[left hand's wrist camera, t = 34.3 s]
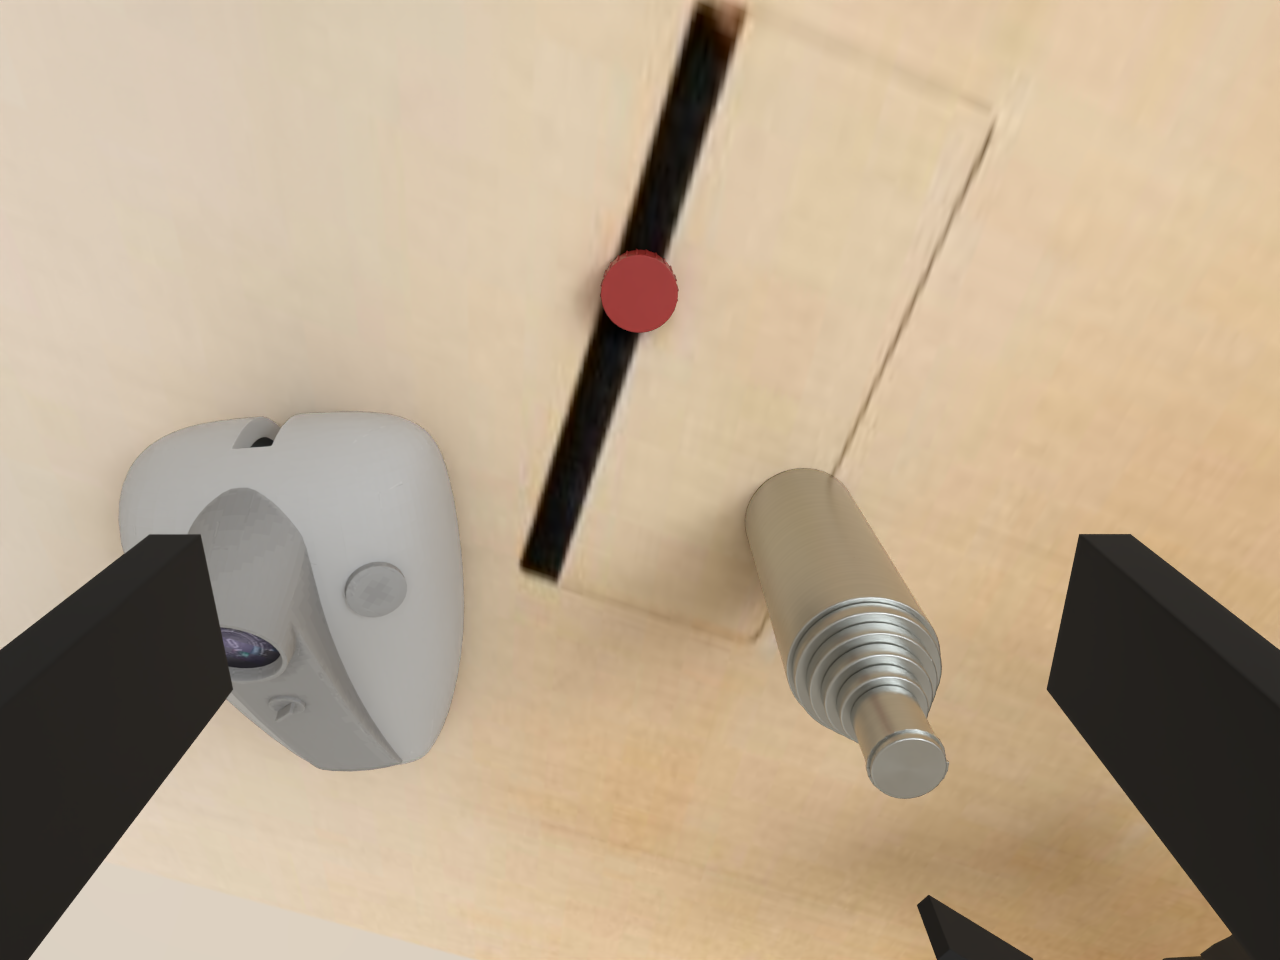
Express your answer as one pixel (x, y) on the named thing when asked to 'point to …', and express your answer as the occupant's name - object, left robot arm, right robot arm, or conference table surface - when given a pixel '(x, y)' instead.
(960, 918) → the right robot arm
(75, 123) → the conference table surface
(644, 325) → the cap
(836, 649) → the bottle
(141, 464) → the projector
